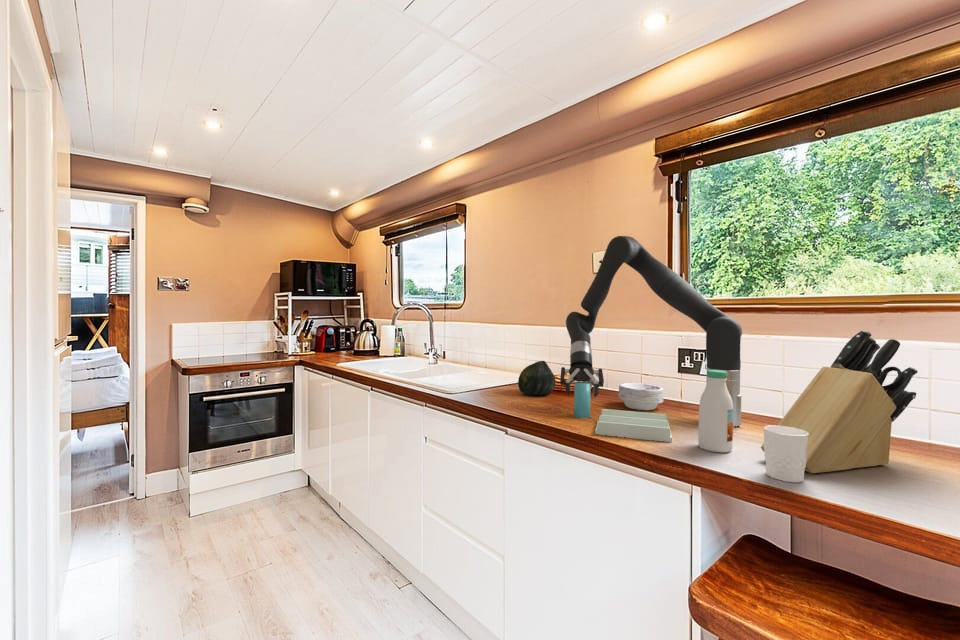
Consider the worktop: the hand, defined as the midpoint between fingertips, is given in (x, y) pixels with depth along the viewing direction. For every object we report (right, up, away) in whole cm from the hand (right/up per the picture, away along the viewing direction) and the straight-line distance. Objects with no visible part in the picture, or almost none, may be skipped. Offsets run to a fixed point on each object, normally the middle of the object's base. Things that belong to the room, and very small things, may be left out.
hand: (582, 395), depth 146 cm
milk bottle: (+26, -8, -33) cm, 43 cm away
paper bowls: (+24, -7, +14) cm, 29 cm away
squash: (-10, -6, +36) cm, 38 cm away
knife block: (+51, -9, -42) cm, 66 cm away
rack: (+11, -8, -17) cm, 21 cm away
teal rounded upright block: (0, -7, -1) cm, 7 cm away
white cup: (+31, -9, -52) cm, 61 cm away
